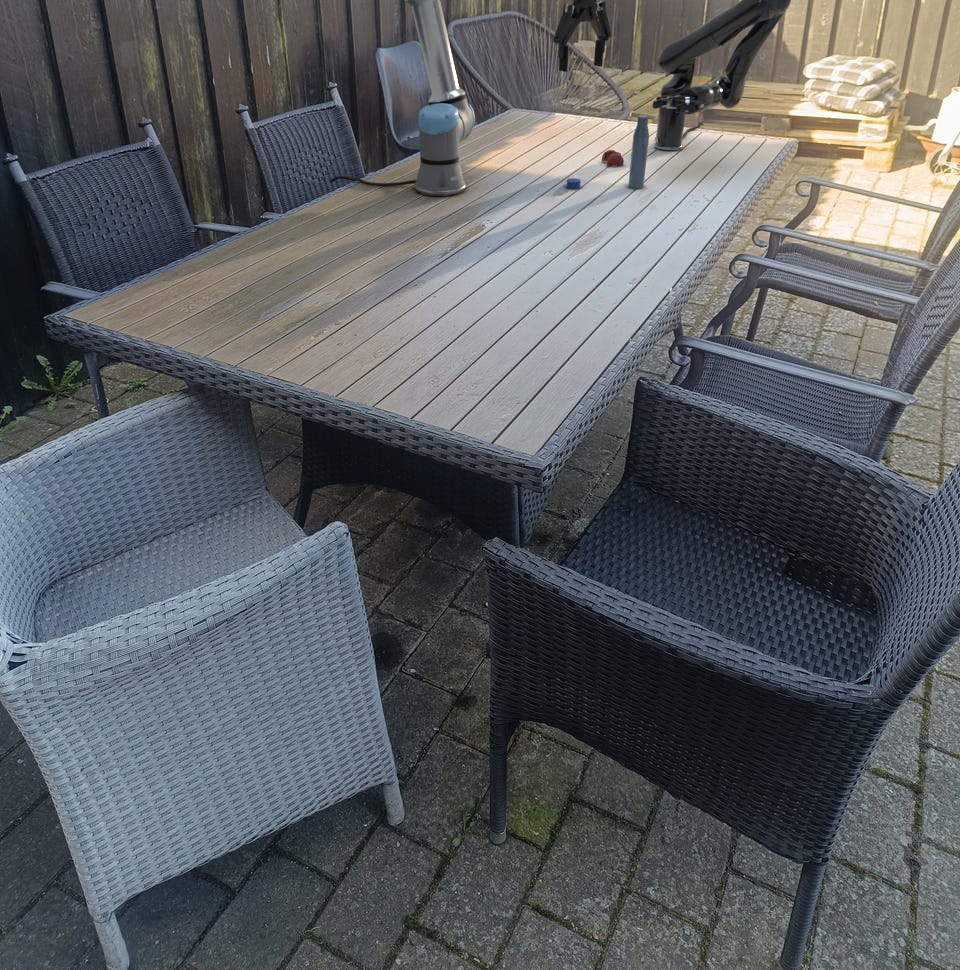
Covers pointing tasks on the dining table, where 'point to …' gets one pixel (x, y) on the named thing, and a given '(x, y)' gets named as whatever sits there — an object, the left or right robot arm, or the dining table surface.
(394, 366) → the dining table surface
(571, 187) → the cap
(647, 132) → the bottle
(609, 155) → the dental model
